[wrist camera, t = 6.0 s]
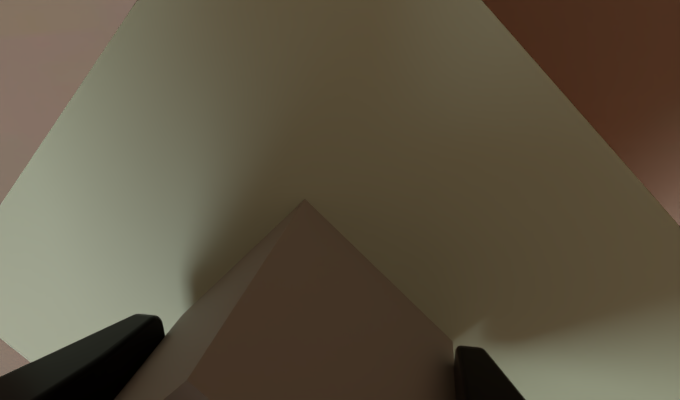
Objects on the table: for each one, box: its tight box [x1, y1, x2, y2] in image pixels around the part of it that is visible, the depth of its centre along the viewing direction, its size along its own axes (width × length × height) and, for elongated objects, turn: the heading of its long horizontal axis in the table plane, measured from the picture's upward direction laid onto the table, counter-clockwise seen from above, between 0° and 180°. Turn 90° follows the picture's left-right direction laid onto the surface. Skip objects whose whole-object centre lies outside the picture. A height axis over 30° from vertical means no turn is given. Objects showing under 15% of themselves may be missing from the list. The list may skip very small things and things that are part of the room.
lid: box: [0, 0, 680, 400], centre depth 7 cm, size 11×11×5 cm
